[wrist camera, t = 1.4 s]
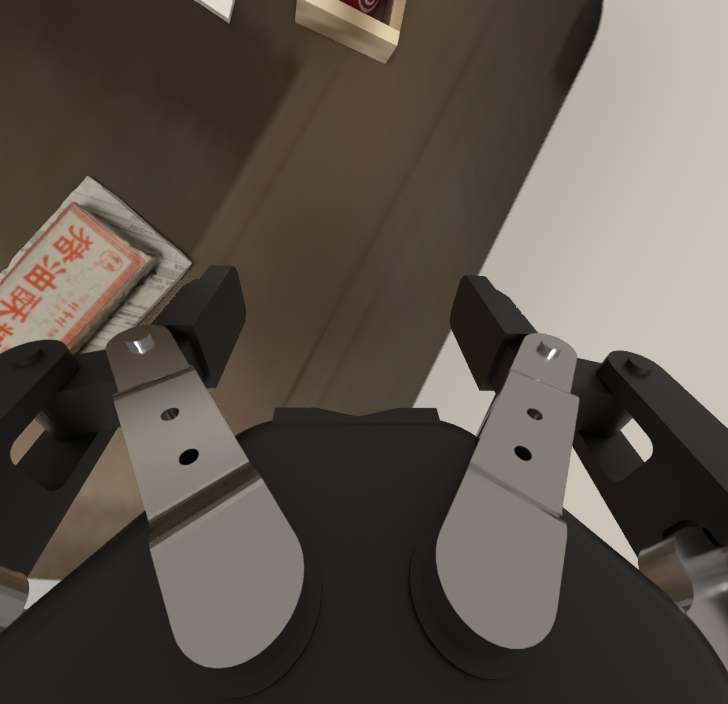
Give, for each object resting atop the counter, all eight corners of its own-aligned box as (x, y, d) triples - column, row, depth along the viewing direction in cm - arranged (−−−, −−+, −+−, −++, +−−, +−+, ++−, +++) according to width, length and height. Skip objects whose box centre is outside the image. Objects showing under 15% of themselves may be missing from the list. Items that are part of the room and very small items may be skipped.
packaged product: (48, 410, 27) (-97, 339, 23) (80, 387, 31) (-37, 323, 27) (184, 265, 26) (60, 163, 22) (197, 262, 31) (95, 176, 26)
